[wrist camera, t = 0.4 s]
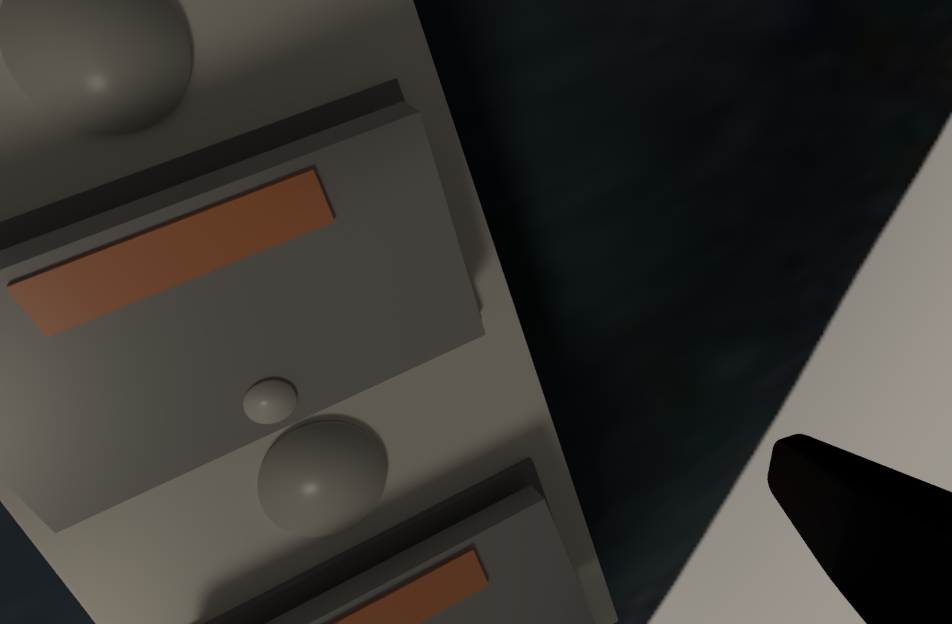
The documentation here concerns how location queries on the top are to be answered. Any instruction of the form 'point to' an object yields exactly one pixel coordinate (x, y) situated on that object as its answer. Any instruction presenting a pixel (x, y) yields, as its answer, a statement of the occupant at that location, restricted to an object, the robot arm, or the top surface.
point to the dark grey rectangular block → (465, 576)
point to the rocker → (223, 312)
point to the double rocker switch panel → (330, 430)
